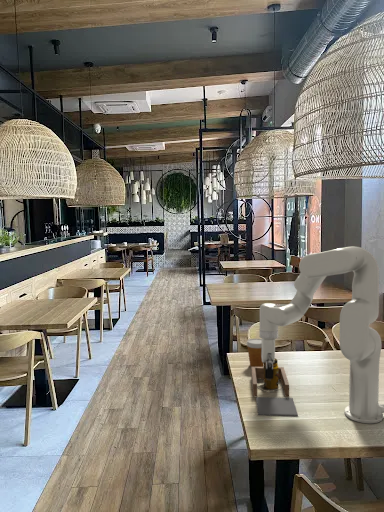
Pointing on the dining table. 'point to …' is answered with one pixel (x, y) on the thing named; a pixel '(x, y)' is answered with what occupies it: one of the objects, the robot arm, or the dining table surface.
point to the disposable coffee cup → (255, 352)
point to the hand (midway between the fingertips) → (268, 373)
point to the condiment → (271, 383)
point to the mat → (276, 406)
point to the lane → (259, 374)
